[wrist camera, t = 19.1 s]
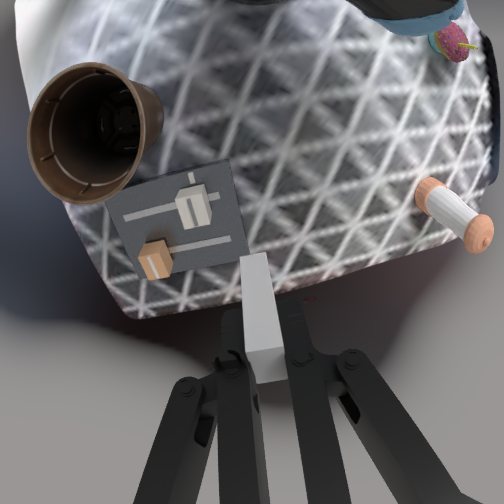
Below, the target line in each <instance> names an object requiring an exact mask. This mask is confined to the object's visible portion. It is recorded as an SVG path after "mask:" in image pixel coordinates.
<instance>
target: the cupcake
mask: <svg viewBox="0 0 504 504" xmlns="http://www.w3.org/2000/svg"><path fill="white" fill-rule="evenodd" d="M450 22H451V24H450V25H449V26H447V27H445V28H444V29H441V30H439V31H437V32H434V33H431V34H429V42H430V44H431V46H432V48H433V49H434V50H435V51H436V52H438V53H441V54H443V55H444V56H445V57H447V59H449V60H451V61H453V62H456V63H458V62H461V61H464V60H466V58H468V56H469V55H468V54H469V48H471V49H479V48H477V47H476V46H474V45H469V42H468V39H467V37H466V35H465V33H464V32H463V31H462V29H461V28H460V27H459V25H456V24H455V23H454V22H452V21H450Z"/></svg>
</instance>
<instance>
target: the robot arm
mask: <svg viewBox="0 0 504 504" xmlns="http://www.w3.org/2000/svg"><path fill="white" fill-rule="evenodd" d="M231 1H234V2H237V3H242V4H248V5H265V4H272V3H276V2H279V1H282V0H231ZM346 1H348V2H349V3H351V4H352V5H354V6H355V7H357V8H358V9H360V10H361V11H362V13H363V14H364V15H365V16H367V17H368V18H370V19H372V20H374V21H376V22H378V23H379V24H380V25H382V26H383V27H384V28H386V29H387V30H389V31H390V32H392V33H395V34H397V35H401V36H407V37H416V36H423V35H427V34H431V33H434V32H437V31H439V30H441V29H444V28H445V27H447V26H449V25H450V24H451V22H450V21H451V20H457V19H458V18H459V17H460V15H461V14H462V12H463V10H464V1H463V0H346ZM240 271H241V288H242V305H243V308H241V309H235V310H228V311H225V313H224V315H223V317H222V319H221V328H222V329H221V350H220V351H218V352H217V353H216V354H215V355H214V357H213V359H212V364H213V366H214V368H215V369H216V371H215V372H213V373H212V374H210V375H208V376H206V377H203V378H201V379H197V378H194V377H184V378H182V379H180V380H179V381H177V382H176V384H175V385H174V387H173V390H172V392H171V395H170V398H169V401H168V404H167V406H166V409H165V412H164V414H163V417H162V420H161V423H160V426H159V429H158V431H157V434H156V437H155V440H154V443H153V446H152V448H151V451H150V454H149V457H148V460H147V463H146V466H145V469H144V472H143V475H142V478H141V481H140V484H139V487H138V490H137V493H136V496H135V499H134V502H133V504H196V501H197V497H198V493H199V490H200V486H201V482H202V478H203V475H204V470H205V467H206V463H207V459H208V456H209V452H210V448H211V444H212V441H213V437H214V433H215V429H216V425H217V424H218V425H217V427H218V429H217V431H218V472H219V497H220V504H270V498H269V489H268V480H267V470H266V461H265V452H264V442H263V432H262V423H261V414H260V404H259V394H258V391H257V386H256V382H257V384H258V383H265V382H272V381H278V380H283V379H288V380H289V387H290V393H291V398H292V404H293V410H294V417H295V423H296V429H297V435H298V441H299V447H300V454H301V460H302V466H303V473H304V479H305V485H306V492H307V499H308V504H351V499H350V494H349V489H348V484H347V479H346V474H345V469H344V465H343V460H342V456H341V451H340V446H339V442H338V438H337V433H336V429H335V425H334V421H333V416H332V413H331V408H330V404H329V400H328V396H334V397H335V398H336V400H337V402H338V403H339V405H340V406H341V408H342V410H343V412H344V413H345V415H346V417H347V418H348V420H349V422H350V424H351V425H352V427H353V429H354V430H355V432H356V434H357V435H358V437H359V439H360V440H361V442H362V444H363V445H364V447H365V449H366V450H367V452H368V454H369V455H370V457H371V459H372V461H373V462H374V464H375V465H376V467H377V469H378V471H379V472H380V474H381V476H382V477H383V479H384V481H385V482H386V484H387V486H388V487H389V489H390V491H391V492H392V494H393V496H394V497H395V499H396V501H397V502H398V504H482V503H480V502H478V501H476V500H474V499H472V498H470V497H468V496H466V495H465V494H463V493H461V492H460V490H459V489H458V487H457V486H456V484H455V482H454V481H453V480H452V478H451V476H450V475H449V473H448V472H447V470H446V469H445V467H444V465H443V464H442V463H441V461H440V459H439V458H438V457H437V455H436V453H435V452H434V451H433V449H432V447H431V446H430V445H429V443H428V442H427V440H426V439H425V437H424V436H423V434H422V433H421V431H420V430H419V428H418V427H417V426H416V424H415V423H414V421H413V420H412V418H411V417H410V415H409V414H408V413H407V411H406V410H405V409H404V407H403V406H402V404H401V403H400V401H399V400H398V399H397V397H396V396H395V394H394V393H393V392H392V390H391V389H390V387H389V386H388V385H387V383H386V382H385V380H384V379H383V378H382V376H381V375H380V374H379V373H378V371H377V370H376V368H375V367H374V366H373V364H372V363H371V361H370V360H369V359H368V357H367V356H366V355H365V354H364V353H363V352H362V351H360V350H357V349H348V350H345V351H343V352H342V353H341V354H339V355H326V354H322V353H320V352H318V351H317V350H316V349H315V348H314V347H313V345H312V342H311V338H310V334H309V331H308V327H307V324H306V321H305V316H304V313H303V310H302V306H301V304H300V303H299V302H298V301H297V300H296V299H295V298H292V299H287V300H282V301H276V302H275V298H274V292H273V287H272V282H271V276H270V271H269V266H268V261H267V256H266V252H263V253H257V254H252V255H247V256H242V257H240Z"/></svg>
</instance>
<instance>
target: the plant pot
mask: <svg viewBox="0 0 504 504" xmlns="http://www.w3.org/2000/svg"><path fill="white" fill-rule="evenodd" d="M128 88H129V90H130V91H129V92H124V93H121V94H120V93H119V92H120V91H121V90H124V89H128ZM132 109H134V110H135V113H132ZM118 112H121V114H120V115H118V114H117V113H118ZM100 118H102V119H103V127H104V131H103V132H102V131H101V127H100ZM163 120H164V112H163V107H162V103H161V101H160V99H159V97H158V96H157V94H156V93H155V92H154V91H152V90H151V89H150V88H149V87H147V86H145V85H143V84H139V83H136V82H134V81H131V80H129V79H128V78H127V77H126V76H125V75H124V74H123V73H121V72H120V71H118V70H117V69H115V68H113V67H111V66H109V65H106V64H102V63H96V62H86V63H80V64H76V65H73V66H71V67H68V68H67V69H65V70H63V71H61V72H60V73H58V74H57V75H56V76H55V77H53V78H52V79H51V80H50V81H49V82H48V83H47V85H46V86H45V87H44V88H43V90H42V91H41V92H40V94H39V96H38V97H37V99H36V101H35V103H34V105H33V108H32V111H31V114H30V117H29V122H28V129H27V148H28V154H29V158H30V162H31V165H32V168H33V170H34V172H35V174H36V176H37V177H38V179H39V180H40V182H41V183H42V184H43V185H44V187H45V188H46V189H47V190H48V191H49V192H51V193H52V194H53V195H54V196H56V197H57V198H59V199H61V200H63V201H65V202H67V203H70V204H74V205H93V204H97V203H101V202H103V201H105V200H107V199H109V198H111V197H113V196H114V195H115V194H117V193H118V192H119V191H120V190H121V189H122V188H123V187H124V186H125V185H126V184H127V183H128V182H129V180H130V179H131V178H132V176H133V175H134V173H135V171H136V169H137V167H138V165H139V163H140V160H141V158H142V155H143V154H144V153H145V152H146V151H147V150H148V149H149V147H150V146H151V145H152V144H153V143H154V142H155V141H156V139H157V138H158V136H159V134H160V132H161V130H162V126H163ZM133 124H135V125H136V128H133V127H132V125H133ZM119 127H121V128H122V129H121V130H119V129H118V128H119ZM135 145H137V146H138V148H137V149H133V150H125V149H123V148H125V147H130V146H135Z"/></svg>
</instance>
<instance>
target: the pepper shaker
mask: <svg viewBox="0 0 504 504" xmlns="http://www.w3.org/2000/svg"><path fill="white" fill-rule="evenodd" d="M415 202H416V205H417V206H418V207H419V208H420V209H421V210H422V211H424V212H425V213H426V214H427V215H429V216H431V217H433V218H434V219H435V220H437V221H438V222H439V223H441V224H442V225H444V226H446V227H447V228H449V229H451V230H452V231H453V232H455V233H456V234H457V235H458V236H459V237H460V238H461V239H462V240H463V241H464V245H465V247H466V249H467V251H469V252H470V253H472V254H479V253H481V252H483V251H484V250H485V249H486V248H487V247H488V246H489V244H490V242H491V240H492V238H493V234H494V226H493V223H492V220H491V219H490V218H489V217H488V216H487V215H482V214H479V215H478V214H477V213H476V212H475V211H473V210H472V209H471V208H469V207H468V206H467V205H466V204H465V203H464V202H463V201H462V200H461V199H460V198H459V197H458V196H457V195H456V194H455V193H454V192H452V191H450V190H449V189H448V188H447V186H446V185H444V184H443V183H441V182H440V181H438V180H436V179H435V178H432V177H428V178H425V179H424V180H422V181H421V182H420V184H419V185H418V187H417V189H416V192H415Z"/></svg>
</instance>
